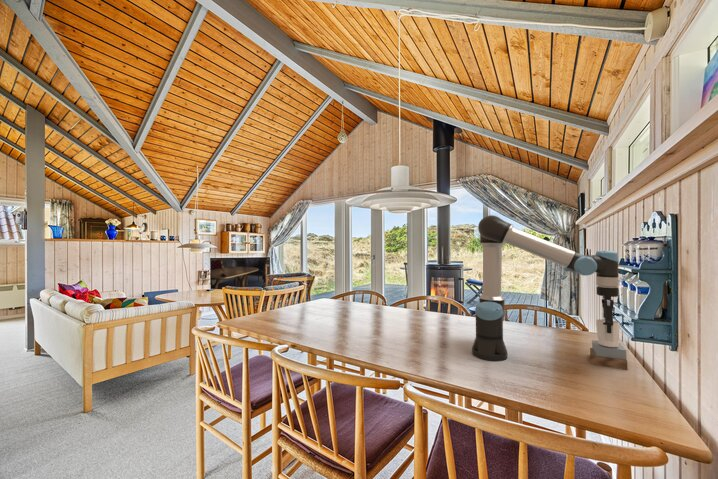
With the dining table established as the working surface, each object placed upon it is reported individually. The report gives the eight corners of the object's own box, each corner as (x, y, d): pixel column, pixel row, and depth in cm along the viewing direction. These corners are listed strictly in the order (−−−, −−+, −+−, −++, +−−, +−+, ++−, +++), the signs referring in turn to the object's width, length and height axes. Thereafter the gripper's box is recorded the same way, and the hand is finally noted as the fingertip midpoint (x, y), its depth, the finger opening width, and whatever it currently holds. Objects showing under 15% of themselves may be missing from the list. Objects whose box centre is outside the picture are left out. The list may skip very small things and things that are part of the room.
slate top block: (596, 355, 133) (596, 346, 133) (592, 348, 141) (592, 340, 141) (626, 360, 128) (626, 350, 128) (620, 352, 137) (620, 343, 137)
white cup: (617, 343, 135) (616, 320, 135) (623, 348, 128) (622, 324, 128) (594, 341, 138) (594, 318, 139) (599, 346, 131) (598, 322, 132)
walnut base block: (590, 364, 133) (590, 355, 134) (590, 356, 143) (590, 347, 143) (627, 371, 126) (627, 361, 127) (624, 361, 136) (624, 352, 136)
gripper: (621, 290, 123) (622, 346, 123) (616, 283, 143) (617, 331, 143) (597, 289, 128) (598, 342, 128) (595, 282, 147) (596, 329, 147)
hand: (608, 336), depth 135 cm, fingers open, 12 cm apart
